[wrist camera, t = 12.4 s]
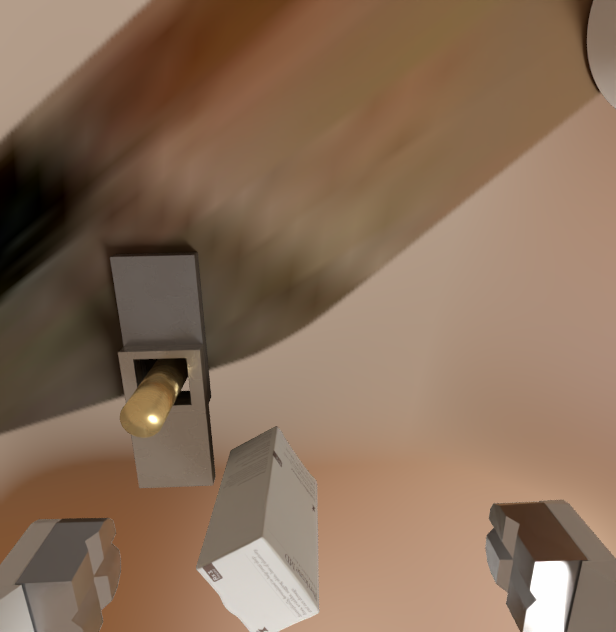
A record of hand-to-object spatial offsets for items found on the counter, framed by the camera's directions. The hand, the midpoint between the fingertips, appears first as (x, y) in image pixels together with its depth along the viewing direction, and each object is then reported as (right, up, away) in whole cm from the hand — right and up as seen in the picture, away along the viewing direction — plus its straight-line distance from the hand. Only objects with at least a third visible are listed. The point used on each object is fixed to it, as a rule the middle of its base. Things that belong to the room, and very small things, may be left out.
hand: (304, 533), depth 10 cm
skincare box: (-4, -10, +36) cm, 38 cm away
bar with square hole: (-13, 0, +32) cm, 35 cm away
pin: (-13, 0, +32) cm, 35 cm away
